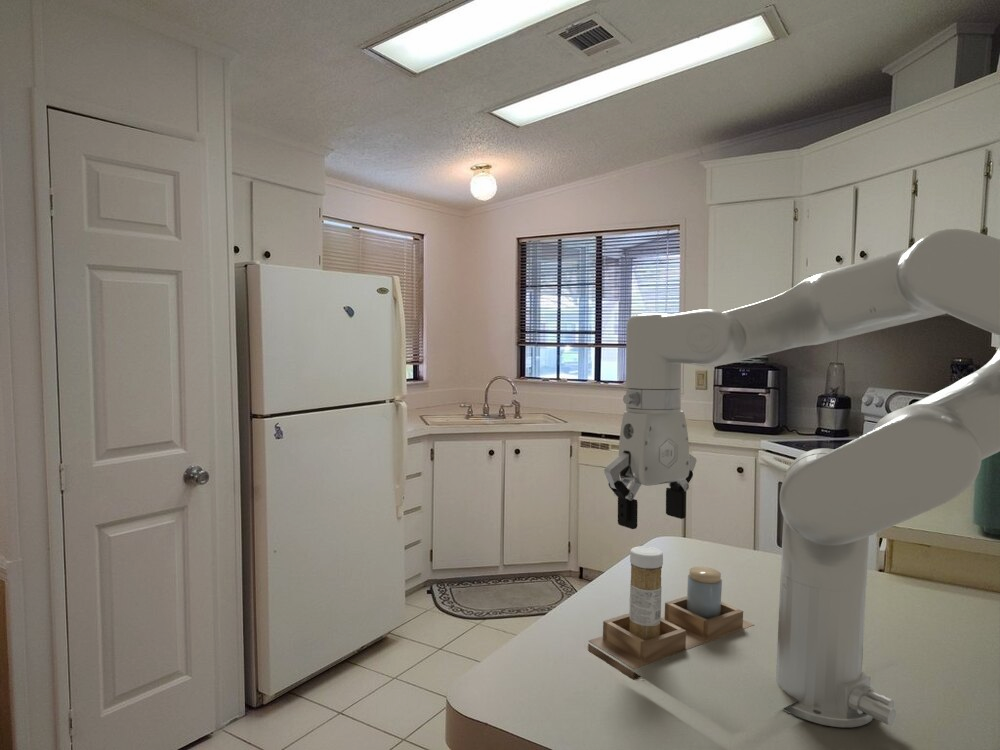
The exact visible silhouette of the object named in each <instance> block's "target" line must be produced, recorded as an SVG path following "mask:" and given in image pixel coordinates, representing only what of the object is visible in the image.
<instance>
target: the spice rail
mask: <svg viewBox="0 0 1000 750" xmlns="http://www.w3.org/2000/svg"><path fill="white" fill-rule="evenodd" d="M602 624H603V625H602V636H599V637H595V638H593V639H589V640H588V642H589V643H587V644H588V645H587V651H588V652H589V653H591V654H593V655H594V656H596V657H598V658H599V659H600V660H602V661H604V662H605V663H606V664H608V665H609V666H611V667H612V668H614V669H615V670H617V671H619V672H621V673H622V674H624V675H625V676H627V677H628V678H630V679H631V680H632V681H635V680H637V679H640V678H642V676H641V675H639V674H637V673H636V672H634V671H633V670H636V669H638V668H640V667H643V666H646V665H650V664H652V663H655V662H657V661H660V660H663V659H666V658H668V657H671V656H673V655H676V654H680V653H682V652H684V651H687V650H691V649H693V648H695V647H698V646H701V645H704V644H706V643H709V642H711V641H715V640H718V639H720V638H722V637H726V636H728V635H730V634H733V633H737V632H739V631H742V630H745V629H747V628H748V629H749V628H750V627H753V626H755V624H754V623H752V622H749V621H747V620H745V619H744V610H741V609H739V608H736V607H735V606H732V605H730V604H727V603H725V602H723V601H721V615H720V616H717V617H714V618H711V619H708V620H707V619H705V618H703V617H700V616H698V615H696V614H694V613H692V612H690V611H688V610H687V595H686V596H683V597H680V598H676V599H674V600H670V601H667V602H664V616H661V621H660V636H657V637H654V638H651V639H649V640H646V641H645V640H643V639H641V638H639V637H637V636H636V635H634V634H632V633H630V631H629V629H630V618H629V613H626V614H623V615H619V616H616V617H612V618H609V619H605V620H603V621H602ZM590 643H591V644H590ZM592 644H593V645H594V646H593V645H592ZM595 646H596V647H598V648H596V647H595ZM600 649H601V650H602V651H601V650H600ZM603 651H604V652H606V653H607V654H606V653H604V652H603ZM608 654H609V655H611V656H612V657H614V658H615V659H614V658H612V657H610V656H609V655H608ZM616 659H617V660H619V661H620V662H621V663H620V662H619V661H617V660H616ZM622 663H623V664H624V665H623V664H622ZM625 665H626V666H625ZM627 666H628V667H629V668H628V667H627ZM630 668H631V669H630ZM632 669H633V670H632Z"/></svg>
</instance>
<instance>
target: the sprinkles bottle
mask: <svg viewBox="0 0 1000 750" xmlns="http://www.w3.org/2000/svg"><path fill="white" fill-rule="evenodd" d="M629 552H630V554H629V556H630V557H629V562H630V589H629V590H630V594H629V609H628V610H629V612H628V614H629V618H630V629H629V631H630V633H632V634H634V635H636V636H637V637H639V638H641V639H643V640H645V641H646V640H649V639H651V638H654V637H657V636H660V621H661V618H662V588H663V587H662V568H663V565H664V553H663V551H662V550H660V549H659V548H657V547H653V546H645V545H643V546H642V545H641V546H640V545H639V546H634V547H632V548H631V549H630V551H629Z"/></svg>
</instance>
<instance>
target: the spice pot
mask: <svg viewBox="0 0 1000 750" xmlns="http://www.w3.org/2000/svg"><path fill="white" fill-rule="evenodd" d="M688 571H689V573H688V575H687V587H686V588H687V590H686V591H687V592H686V596H687V610H688V611H690V612H692V613H694V614H696V615H698V616H700V617H703V618H705V619H707V620H708V619H711V618H714V617H717V616H720V615H721V602H722V591H723V590H722V587H723V580H722V574H721V572H720V571H719V570H717V569H714V568H711V567H707V566H694V567H693V566H692V567H690V568H689V570H688Z"/></svg>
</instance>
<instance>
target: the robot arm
mask: <svg viewBox="0 0 1000 750" xmlns="http://www.w3.org/2000/svg"><path fill="white" fill-rule="evenodd" d="M946 314H947V315H950V316H951V317H954V318H956V319H958V320H961V321H963V322H965V323H967V324H970V325H972V326H974V327H976V328H979V329H982V330H984V331H987V332H989V333H991V334H994V335H996V336H999V337H1000V239H999V238H996V237H993V236H990V235H987V234H984V233H981V232H978V231H974V230H968V229H962V228H950V229H949V228H947V229H941V230H937V231H934V232H931V233H928V234H926V236H923V237H922V238H921V239H919V240H917V241H916V242H915V243H914V244H913V245H912V246H910V247H906V248H904V249H900V250H897V251H893V252H890V253H886V254H883V255H880V256H877V257H873V258H870V259H867V260H862V261H860V262H856V263H853V264H849V265H846V266H842V267H839V268H834V269H830V270H828V271H825V272H824V271H823V272H820V273H818V274H815V275H812V276H809V277H808V278H805V279H804V280H802V281H801V282H799V283H797V284H796V285H794V286H793V287H791V288H790V289H788V290H786V291H784V292H782V293H780V294H778V295H775V296H773V297H770V298H767V299H764V300H761V301H758V302H755V303H751V304H748V305H744V306H740V307H737V308H734V309H730V310H726V311H723V312H722V311H719V310H715V309H709V308H708V309H707V308H705V309H697V310H692V311H686V312H685V311H684V312H679V313H672V314H671V313H665V312H664V313H663V312H662V313H659V312H658V313H655V312H653V313H639V314H634V315H632V316H631V317H629V319H628V320H627V322H626V329H625V330H626V338H625V339H626V341H625V342H626V343H625V345H626V346H625V347H626V349H625V350H626V353H625V356H626V357H625V362H626V363H625V365H626V367H625V370H626V371H625V372H626V373H625V374H626V375H625V377H626V381H625V382H626V383H625V385H626V388H625V394H623V395H624V396H623V398H622V401H623V403H624V404H625V411H623V413H622V419H621V424H620V425H621V426H620V432H619V433H620V435H619V440H618V441H619V443H618V456H617V457H616V458H615V460H613V461H612V462H611V463H609V464H607V466H606V467H605V468H604V471H603V472H604V474H605V478H606V480H607V482H608V487H609V489H611V490H612V492H613V495H614V496H615V497H616V498H617V525H619V526H621V527H625V528H628V529H631V530H636V529H638V528H637V527H638V503H639V502H638V499H635V497H636V495H637V493H638V491H639V489H640V488H641V486H642V485H643V486H647V487H648V486H649V487H650V486H656V485H657V486H658V485H663V484H667V485H668V486H669V487H666V489H665V514H666V515H667V516H670V517H673V518H677V519H681V520H683V519H686V516H687V515H686V513H687V512H686V511H687V510H686V508H687V506H686V505H687V503H686V502H687V501H686V499H687V495H686V494H687V491H688V490H689V489H690V484H689V483H690V482H691V480H692V479H693V477H694V473H693V472H694V470H695V467H696V463H697V458H696V457H695V456H694V455H692V454H690V446H689V443H690V442H689V434H688V433H689V431H688V426H687V420H686V415H685V412H684V410H681V405H682V404H681V403H682V401H681V397H682V394H681V393H682V390H681V388H682V385H681V384H682V364H685V365H692V366H697V367H715V366H723V365H724V366H725V365H729V364H734V363H737V362H742V361H745V360H749V359H753V358H758V357H762V356H766V355H770V354H774V353H779V352H782V351H786V350H790V349H794V348H800V347H806V346H816V345H821V344H827V343H830V342H834V341H838V340H843V339H848V338H850V337H851V338H852V337H855V336H859V335H863V334H867V333H871V332H877V331H879V330H883V329H887V328H888V329H889V328H892V327H896V326H901V325H905V324H908V323H914V322H918V321H921V320H927V319H929V318H933V317H937V316H942V315H946ZM999 452H1000V342H998V348H997V350H996V352H995V353H994V354H993V357H992V358H991V359H989V361H988V362H987V363H986V364H984V365H983V366H982V367H980V368H979V369H977V370H976V371H973V372H971V373H970V374H968V375H967V376H964V377H962V378H961V379H959V380H957V381H955V382H953V383H952V384H950V385H949V386H946V387H944V388H943V389H940V390H939V391H937V392H935V393H931V394H930V395H928V396H926V397H924V398H922V399H919V400H918V401H915V402H913V403H912V404H909V405H907V406H904V407H901V408H898V409H896V410H894V411H891V412H890V413H889V412H888V413H887V414H886V415H885V416H883V417H882V418H880V419H879V420H878V421H877V423H876V424H875V425H874V426H873V428H872V430H870V431H868V432H867V433H865V434H862V435H861V436H859V437H857V438H855V439H852V440H850V441H849V442H847V443H845V444H843V445H841V446H839V447H837V448H835V449H834V448H829V447H828V448H823V447H822V448H813V449H811V450H808V451H806V452H804V453H802V454H800V455H799V456H797V457H796V458H795V459H794V460H793V461H792V462H791V463H790V465H789V467H788V468H787V470H786V472H785V475H784V477H783V481H782V484H781V486H780V491H779V507H780V511H781V514H782V517H783V519H782V521H783V522H782V539H781V542H782V543H781V556H780V557H781V559H780V560H781V561H780V579H779V581H780V582H779V601H778V602H779V603H778V623H777V625H778V626H777V642H776V643H777V644H776V645H777V646H776V664H775V665H776V668H775V681H776V683H777V686H779V688H780V689H781V690H782V691H784V692H785V693H786V694H787V695H788V696H790V697H792V698H794V699H795V700H797V701H795V702H793V703H792V704H789V705H788V706H786V707H784V708H782V710H784V711H786V712H787V713H789V714H792V715H794V716H796V717H797V718H800V719H803V720H806V721H808V722H811V723H815V724H818V725H823V726H828V727H835V728H856V727H857V728H858V727H862V726H864V725H866V724H868V723H870V722H872V721H873V719H874V720H877V721H879V722H881V723H883V724H884V725H886V726H889V727H890V726H892V725H893V724H894V723H895V721H896V716H897V713H896V709H895V708H894V705H895V700H894V699H893V698H890V697H888V696H885V695H884V694H881V693H878V692H875V691H874V689H873V688H872V687H871V682H872V681H871V680H872V676H871V674H868V673H865V672H864V671H863V659H864V658H863V657H864V641H865V640H864V639H865V636H864V635H865V619H866V618H865V617H866V600H867V598H866V597H867V584H868V568H869V567H868V564H869V562H868V561H869V537H870V536H872V535H875V534H878V533H880V532H883V531H884V530H886V529H890V528H892V527H894V526H896V525H899V524H901V523H904V522H907V521H909V520H911V519H913V518H915V517H918V516H921V515H923V514H925V513H928V512H930V511H932V510H934V509H936V508H938V507H940V506H943V505H945V504H947V503H949V502H951V501H952V500H954V499H956V498H958V497H959V496H960V495H961V494H963V493H964V492H966V491H968V489H969V488H970V487H971V486H972V484H973V483H974V482H975V481H976V479H977V477H978V475H979V472H980V470H981V468H982V467H981V466H982V461H983V460H984V459H987V458H989V457H991V456H993V455H995V454H997V453H999ZM629 484H630V485H629ZM628 486H629V487H628Z"/></svg>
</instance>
